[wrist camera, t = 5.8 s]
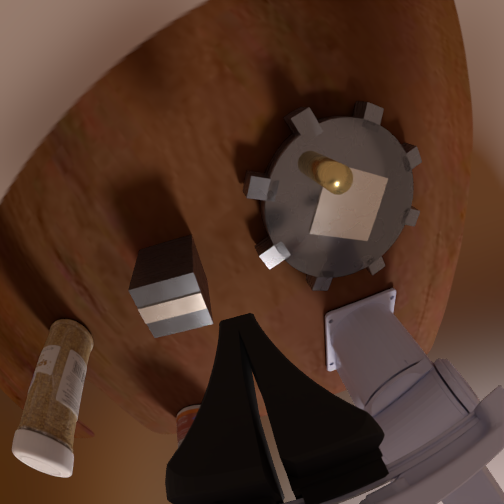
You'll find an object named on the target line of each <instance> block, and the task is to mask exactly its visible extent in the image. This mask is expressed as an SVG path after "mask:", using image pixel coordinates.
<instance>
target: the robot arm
mask: <svg viewBox="0 0 504 504" xmlns="http://www.w3.org/2000/svg"><path fill="white" fill-rule="evenodd" d="M395 297H396V290H395V289H394V288H391V289H388V290H386V291H383V292H381V293H378V294H376V295H373V296H371V297H368V298H365V299H363V300H360V301H357V302H355V303H352V304H349V305H347V306H344V307H341V308H338V309H336V310H333V311H330V312H328V313H327V314H326V315H325V334H326V362H327V370H328V371H333V370H335V369H337V371H338V373H339V375H340V377H341V379H342V381H343V383H344V385H345V387H346V389H347V390H348V392H349V394H350V396H351V398H352V400H353V402H354V404H355V406H354V405H351V404H350V403H348V402H346V401H344V400H342V399H341V398H339V397H337V396H335V395H334V394H332V393H331V392H329V391H328V390H326V389H325V388H323V387H322V386H320V385H319V384H317V383H316V382H314V381H313V380H312V379H310V378H309V377H308V376H306V375H305V374H304V373H303V372H302V371H300V370H299V369H298V368H297V367H296V366H295V365H294V364H292V363H291V362H290V361H289V360H288V359H287V358H286V357H285V356H284V355H283V354H282V353H281V352H280V351H279V349H278V348H277V347H276V346H275V345H274V344H273V343H272V341H271V340H270V339H269V338H268V337H267V335H266V334H265V333H264V331H263V330H262V329H261V327H260V326H259V324H258V322H257V321H256V319H255V317H254V314H252V313H248V314H245V315H241V316H237V317H234V318H230V319H226V320H222V321H221V322H220V323H219V339H218V345H217V351H216V356H215V361H214V365H213V369H212V373H211V377H210V380H209V383H208V387H207V390H206V392H205V395H204V398H203V400H202V403H201V405H200V408H199V410H198V412H197V415H196V417H195V419H194V421H193V423H192V425H191V427H190V429H189V430H188V432H187V434H186V436H185V438H184V439H183V441H182V443H181V444H180V446H179V447H178V449H177V451H176V452H175V453H174V455H173V456H172V458H171V459H170V461H169V462H168V464H167V468H166V480H165V485H166V493H167V500H168V501H169V502H171V503H172V504H338V503H341V502H344V501H346V500H349V499H351V498H354V497H356V496H359V495H361V494H363V493H366V492H368V491H370V490H373V489H375V488H377V487H379V486H381V485H383V484H385V483H387V482H389V481H390V482H391V483H390V484H388V485H386V486H384V487H382V488H380V489H379V490H377V491H375V492H373V493H371V494H369V495H367V496H366V499H364V500H362V501H361V502H360V503H359V504H437V503H438V502H440V501H442V502H443V504H504V493H503V491H502V489H501V488H500V486H499V485H498V483H497V482H496V480H495V479H494V477H493V476H492V474H491V473H490V471H489V470H488V468H487V467H486V465H487V464H488V463H489V462H490V461H491V460H492V459H493V458H494V457H495V456H496V455H497V454H498V453H499V452H500V451H501V450H502V449H503V448H504V389H503V388H502V386H501V385H499V386H498V387H497V388H496V389H494V390H493V391H492V392H491V393H490V394H488V395H487V396H486V397H485V398H484V399H483V400H482V401H481V402H480V401H479V399H478V397H477V396H476V394H475V393H474V392H473V390H472V388H471V387H470V386H469V384H468V383H467V382H466V380H465V379H464V378H463V377H462V375H461V374H460V373H459V372H458V370H457V369H456V368H455V367H454V366H453V365H452V363H451V362H450V361H449V360H448V359H440V358H438V359H437V360H436V361H435V362H434V363H433V362H432V361H431V360H430V359H429V358H428V357H427V355H426V354H425V353H424V351H423V350H422V349H421V348H420V346H419V345H418V344H417V342H416V341H415V340H414V339H413V337H412V336H411V335H410V334H409V332H408V331H407V330H406V329H405V328H404V326H403V325H402V324H401V323H400V321H399V320H398V319H397V318H396V317H395V315H394V314H393V311H394V304H395ZM251 369H252V370H251ZM252 372H253V374H254V377H255V380H256V382H257V385H258V387H259V390H260V392H261V394H262V397H263V399H264V403H265V406H266V410H267V413H268V417H269V420H270V424H271V427H272V431H273V434H274V438H275V441H276V445H277V448H278V452H279V455H280V458H281V461H282V463H283V466H284V468H285V471H286V473H287V476H288V479H289V482H290V485H291V488H292V491H293V493H294V495H295V497H296V500H293V501H290V502H286V503H284V502H283V500H284V494H283V491H282V488H281V485H280V482H279V479H278V476H277V473H276V470H275V467H274V464H273V460H272V457H271V454H270V451H269V448H268V444H267V441H266V438H265V434H264V430H263V427H262V424H261V420H260V415H259V410H258V404H257V399H256V393H255V387H254V381H253V375H252Z"/></svg>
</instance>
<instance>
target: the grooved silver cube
mask: <svg viewBox="0 0 504 504" xmlns="http://www.w3.org/2000/svg"><path fill="white" fill-rule="evenodd" d="M129 292H130V294H131V296H132V298H133V300H134V302H135V304H136V306H137V307H138V311H139V312H140V314H141V316H142V318H143V320H144V321H145V323H146V324H147V325H148V327H149V329H150V331H151V332H152V334H153V336H154V337H155V338H157V337H161V336H166V335H170V334H174V333H178V332H182V331H186V330H190V329H194V328H198V327H202V326H206V325H210V324H213V319H212V312H211V305H210V297H209V290H208V282H207V278H206V275H205V272H204V269H203V266H202V264H201V261H200V258H199V255H198V252H197V249H196V246H195V243H194V240H193V237H192V235H188V236H185V237H181V238H178V239H175V240H171V241H168V242H164V243H161V244H158V245H154V246H151V247H148V248H144V249H141V250H139V253H138V257H137V260H136V264H135V267H134V271H133V275H132V278H131V282H130V286H129Z"/></svg>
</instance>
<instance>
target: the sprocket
mask: <svg viewBox="0 0 504 504" xmlns="http://www.w3.org/2000/svg"><path fill="white" fill-rule="evenodd" d="M383 110H384V109H383V108H381V107H379V106H376V105H374V104H371V103H369V102H362V101H356V103H355V108H354V112H353V116H352V117H347V116H330V117H325V118H321V119H318V120H317V119H316V118H315V116H314V114H313V112H312V111H311V109H310V107H299V108H298V109H296V110H294V111H293V112H291V113H289V114H288V115H286V116H285V117H283V118H284V120H285V121H286V123H287V124H288V126H289V128H290V129H291V131H292V132H293V134H291V135H290V136H289V137H288V138H287V139H286V140H285V141H284V142H283V143H282V145H281V146H280V147H279V148H278V150H277V151H276V152H275V154H274V156H273V157H272V159H271V161H270V163H269V165H268V168H267V170H266V172H265V173H259V172H253V171H246V176H245V181H244V186H243V193H244V194H245V196H246V198H251V199H258V200H260V207H261V215H262V219H263V223H264V227H265V229H266V231H267V234H268V237H267V238H265V239H264V240H262V241H261V242H259V243H258V244H256V245H255V248H256V251H257V253H258V255H259V257H260V258H261V259H262V260H263V262H264V263H265V264H266V266H267V267H268V268H269V269H271V268H273V267H274V266H276V265H277V264H279V263H280V262H281V261H283V260H285V261H287V262H288V263H289V264H290V265H291V266H292V267H294V268H296V269H297V270H299V271H301V272H303V273H306V274H307V277H306V281H307V283H308V284H309V286H310V287H311V289H312V290H321V291H328V289H329V286H330V284H331V281H332V278H333V277H341V276H345V275H349V274H352V273H355V272H357V271H360V270H362V269H364V268H366V269H367V270H368V271H369V272H370V273H371V274H372V275H374V274H375V273H377V272H378V271H379V270H381V269H382V268H383V267H385V264H384V261H383V258H382V255H383V254H384V253H385V252H386V251H387V250H388V249H389V248H390V247H391V246H392V244H393V243H394V242H395V241H396V239H397V238H398V236H399V235H400V233H401V231H402V229H403V227H404V225H410V226H415V224H416V221H417V219H418V216H419V213H420V211H419V210H417V209H416V208H414V207H412V206H411V204H412V199H413V175H412V169H413V168H414V167H416V166H417V165H418V164H420V163H421V162H422V161H421V157H420V154H419V151H418V148H417V146H414V145H411V144H408V143H403V144H402V145H401V144H400V143H399V142H398V140H397V139H396V138H395V137H394V136H393V135H392V134H391V133H390V132H389V131H388V130H386V129H385V128H383V127H382V126H380V123H381V119H382V114H383Z"/></svg>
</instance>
